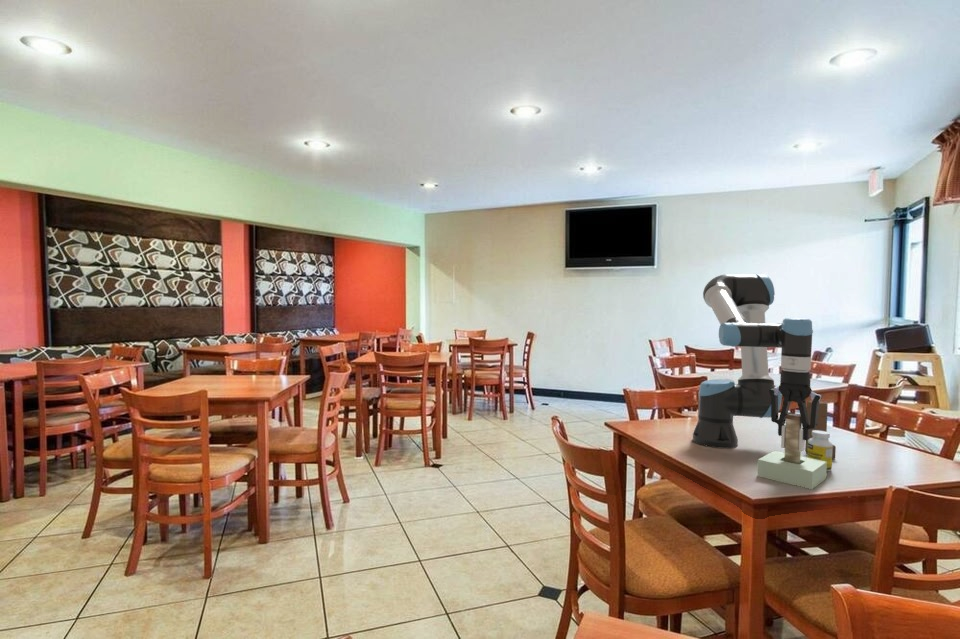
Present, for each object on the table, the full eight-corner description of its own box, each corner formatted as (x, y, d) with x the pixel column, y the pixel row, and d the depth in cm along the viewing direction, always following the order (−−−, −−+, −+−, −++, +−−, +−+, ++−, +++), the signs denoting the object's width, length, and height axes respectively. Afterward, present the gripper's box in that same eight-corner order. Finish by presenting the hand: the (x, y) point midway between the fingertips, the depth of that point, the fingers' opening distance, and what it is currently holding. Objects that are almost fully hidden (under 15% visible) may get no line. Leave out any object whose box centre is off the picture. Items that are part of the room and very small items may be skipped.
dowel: (782, 461, 148) (783, 414, 147) (786, 458, 150) (788, 413, 150) (797, 465, 144) (799, 417, 144) (802, 462, 147) (804, 415, 147)
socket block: (757, 475, 148) (758, 459, 148) (773, 466, 158) (774, 450, 157) (812, 489, 138) (812, 471, 138) (826, 478, 147) (826, 461, 147)
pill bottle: (802, 465, 159) (803, 429, 159) (822, 465, 159) (824, 429, 159) (815, 471, 153) (816, 434, 153) (836, 472, 153) (838, 435, 152)
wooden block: (835, 459, 166) (837, 406, 165) (822, 459, 166) (824, 405, 165) (817, 451, 175) (819, 400, 174) (804, 451, 175) (806, 400, 174)
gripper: (759, 368, 150) (757, 444, 151) (826, 374, 138) (822, 458, 138) (768, 366, 155) (766, 440, 156) (833, 372, 143) (830, 453, 143)
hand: (792, 448), depth 147 cm, fingers closed on dowel, 4 cm apart
